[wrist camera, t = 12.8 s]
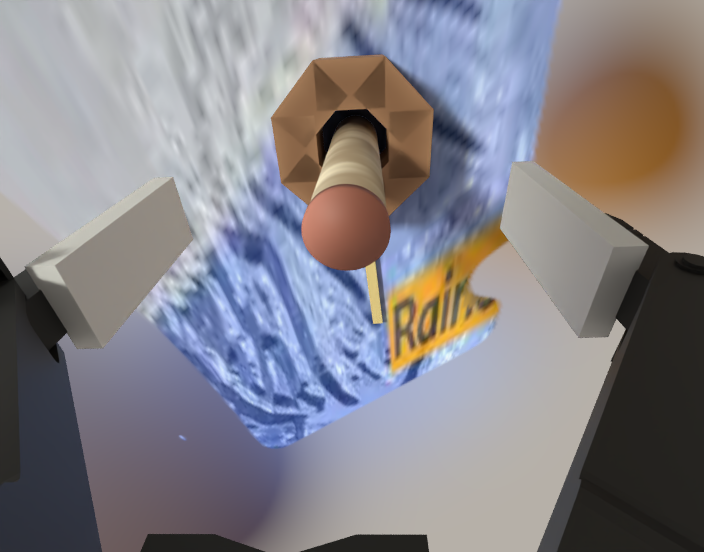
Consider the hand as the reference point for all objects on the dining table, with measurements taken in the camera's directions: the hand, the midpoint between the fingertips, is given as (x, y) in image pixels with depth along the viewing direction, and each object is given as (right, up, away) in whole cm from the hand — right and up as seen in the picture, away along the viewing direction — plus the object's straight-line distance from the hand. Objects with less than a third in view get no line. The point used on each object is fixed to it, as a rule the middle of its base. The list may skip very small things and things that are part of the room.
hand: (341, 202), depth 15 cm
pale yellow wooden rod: (+2, -3, +19) cm, 19 cm away
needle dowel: (+1, +7, +12) cm, 14 cm away
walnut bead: (+1, +7, +12) cm, 14 cm away
